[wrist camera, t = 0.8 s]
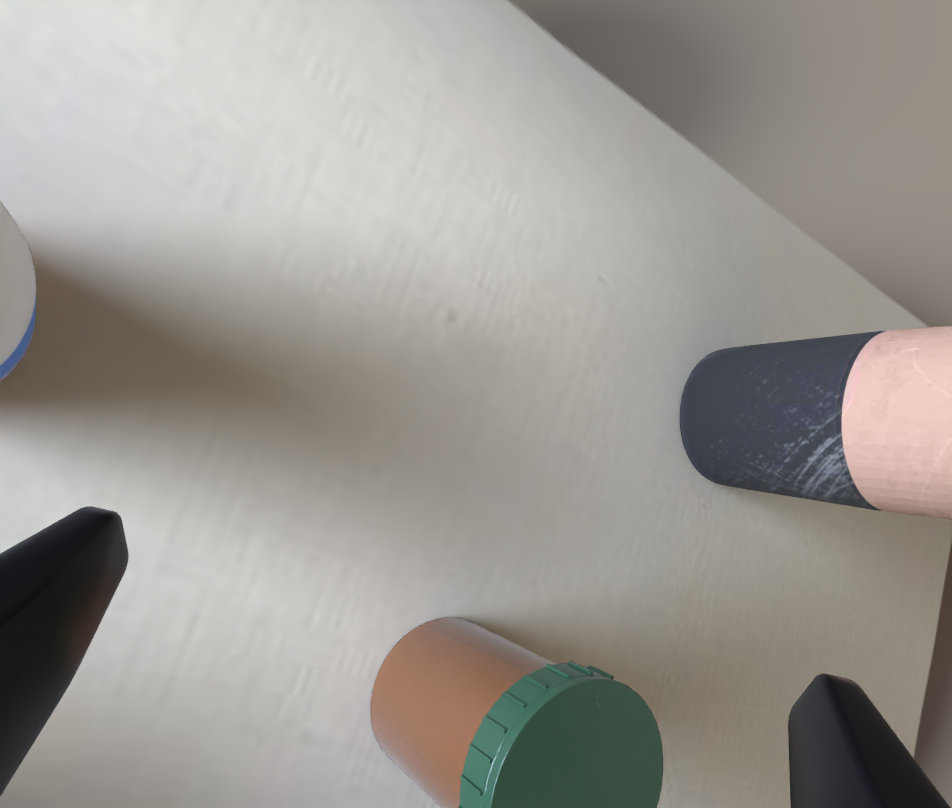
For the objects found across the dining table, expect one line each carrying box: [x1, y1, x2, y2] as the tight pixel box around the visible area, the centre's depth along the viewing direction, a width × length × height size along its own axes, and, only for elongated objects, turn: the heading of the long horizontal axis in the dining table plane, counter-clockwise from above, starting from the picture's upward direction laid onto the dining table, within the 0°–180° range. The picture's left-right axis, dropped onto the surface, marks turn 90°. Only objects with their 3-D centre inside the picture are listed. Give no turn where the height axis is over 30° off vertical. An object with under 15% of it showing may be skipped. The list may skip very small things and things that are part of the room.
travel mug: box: [680, 326, 952, 519], centre depth 30 cm, size 8×8×20 cm
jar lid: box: [458, 661, 663, 808], centre depth 23 cm, size 7×7×2 cm
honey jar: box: [371, 617, 555, 808], centre depth 26 cm, size 6×6×8 cm
